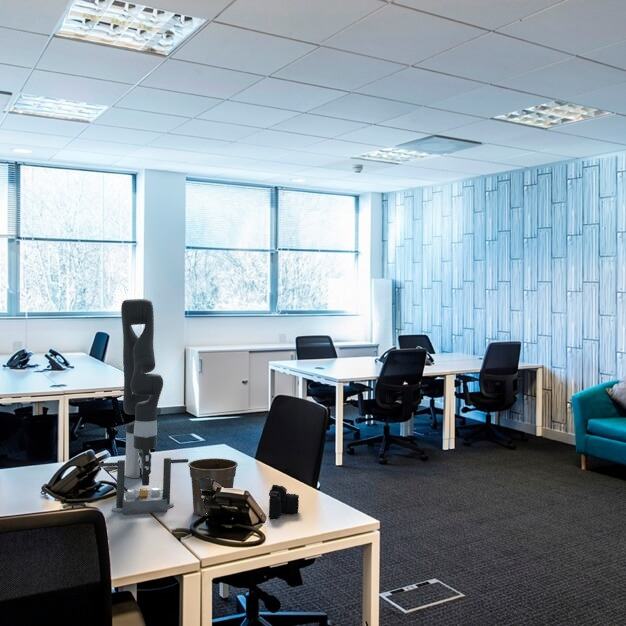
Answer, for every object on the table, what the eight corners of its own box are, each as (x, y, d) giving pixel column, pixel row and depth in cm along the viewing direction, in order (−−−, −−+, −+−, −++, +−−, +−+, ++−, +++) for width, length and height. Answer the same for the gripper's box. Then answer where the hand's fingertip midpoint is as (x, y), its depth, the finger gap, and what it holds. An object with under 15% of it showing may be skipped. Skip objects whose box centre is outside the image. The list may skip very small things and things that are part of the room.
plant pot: (182, 506, 226) (183, 459, 226) (229, 502, 232) (230, 456, 232) (192, 522, 211) (193, 471, 210) (242, 517, 217) (243, 467, 216)
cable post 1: (97, 508, 221) (98, 460, 220) (127, 506, 224) (128, 458, 224) (97, 513, 216) (99, 463, 216) (128, 511, 219) (129, 462, 219)
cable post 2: (157, 504, 227) (158, 457, 227) (186, 502, 231) (187, 456, 231) (159, 508, 223) (160, 460, 222) (188, 506, 226) (189, 459, 226)
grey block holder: (120, 503, 227) (120, 486, 226) (162, 500, 231) (162, 483, 231) (122, 514, 215) (123, 496, 215) (167, 511, 220) (167, 493, 220)
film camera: (296, 521, 215) (297, 493, 215) (266, 519, 215) (267, 492, 215) (299, 507, 230) (300, 481, 230) (271, 505, 231) (272, 479, 230)
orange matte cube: (139, 494, 224) (139, 488, 224) (146, 494, 225) (147, 488, 225) (140, 496, 222) (140, 490, 222) (147, 496, 223) (147, 490, 223)
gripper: (131, 429, 228) (130, 477, 229) (135, 438, 215) (134, 488, 215) (154, 429, 231) (152, 475, 231) (159, 437, 218) (158, 487, 218)
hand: (144, 481), depth 223 cm, fingers open, 8 cm apart
